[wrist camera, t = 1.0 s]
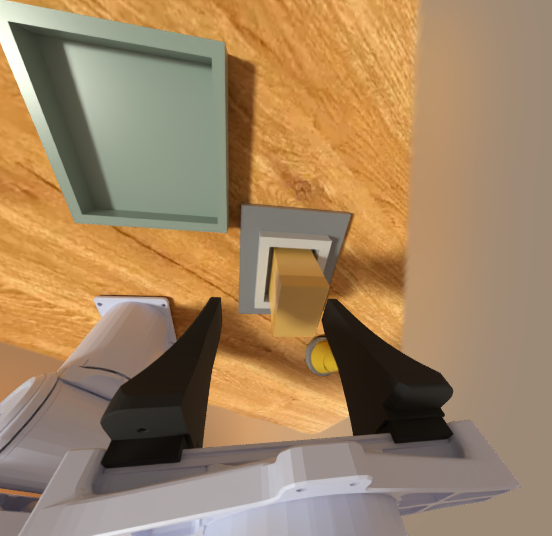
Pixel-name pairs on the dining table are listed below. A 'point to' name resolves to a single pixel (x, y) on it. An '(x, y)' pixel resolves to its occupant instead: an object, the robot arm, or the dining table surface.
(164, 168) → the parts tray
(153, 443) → the robot arm
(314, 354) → the yellow cone
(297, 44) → the dining table surface
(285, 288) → the yellow rectangular block
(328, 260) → the board
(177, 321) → the dining table surface
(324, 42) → the dining table surface
